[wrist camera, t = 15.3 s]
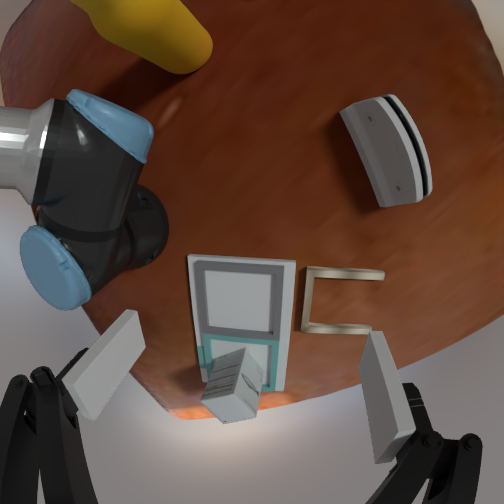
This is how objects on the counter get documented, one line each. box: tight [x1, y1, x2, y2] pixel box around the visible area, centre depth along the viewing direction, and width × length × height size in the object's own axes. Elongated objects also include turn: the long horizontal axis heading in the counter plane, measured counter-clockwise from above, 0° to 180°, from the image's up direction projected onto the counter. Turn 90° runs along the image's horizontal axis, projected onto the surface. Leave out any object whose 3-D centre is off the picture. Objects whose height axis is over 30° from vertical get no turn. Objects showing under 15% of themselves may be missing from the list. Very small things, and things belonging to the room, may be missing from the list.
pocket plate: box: [188, 254, 296, 392], centre depth 51 cm, size 18×30×2 cm, turn 0°
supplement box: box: [200, 348, 264, 424], centre depth 47 cm, size 7×7×13 cm
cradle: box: [301, 266, 385, 334], centre depth 46 cm, size 13×12×2 cm
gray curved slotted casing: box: [339, 95, 432, 207], centre depth 33 cm, size 17×5×10 cm, turn 26°
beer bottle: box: [70, 0, 213, 74], centre depth 22 cm, size 9×9×29 cm
